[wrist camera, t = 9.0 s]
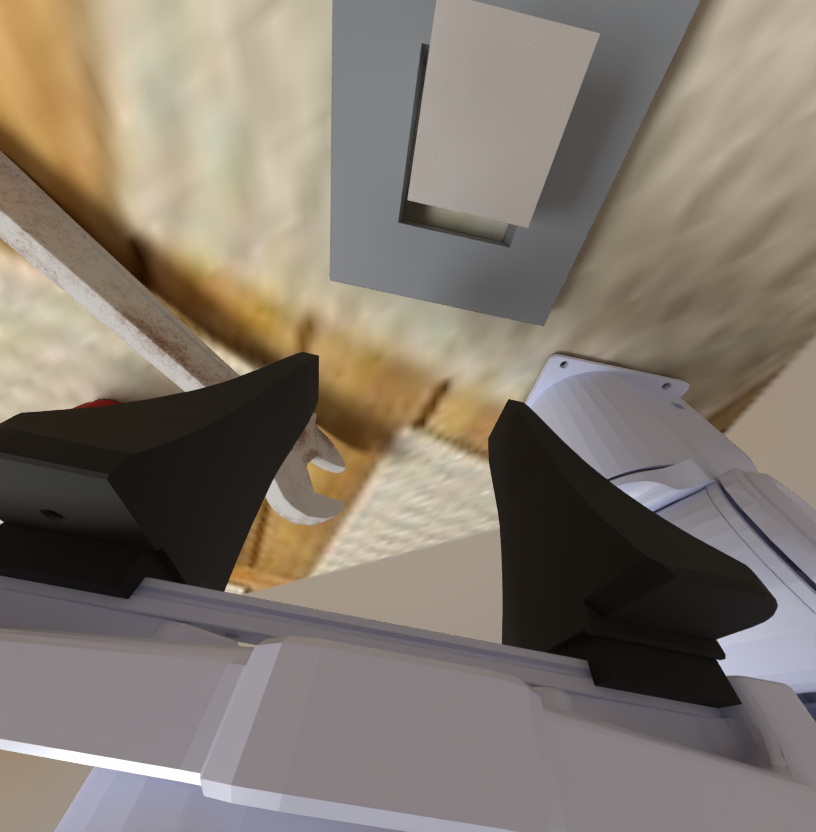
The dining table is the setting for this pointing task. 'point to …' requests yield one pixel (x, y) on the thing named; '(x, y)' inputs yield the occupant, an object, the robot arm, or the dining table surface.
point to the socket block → (393, 142)
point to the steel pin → (494, 108)
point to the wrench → (146, 326)
